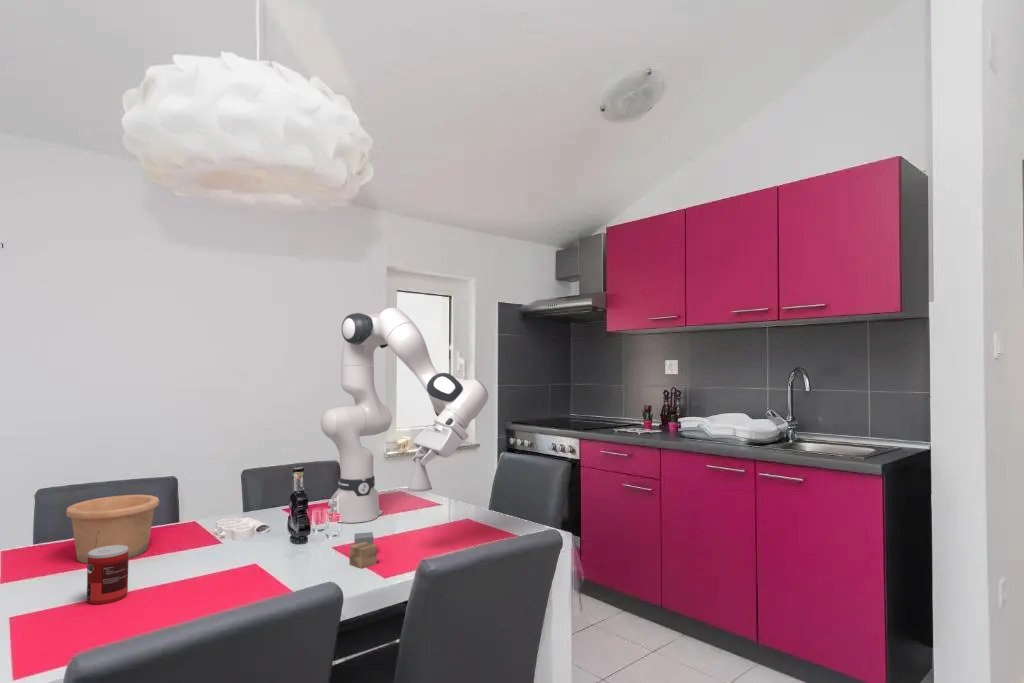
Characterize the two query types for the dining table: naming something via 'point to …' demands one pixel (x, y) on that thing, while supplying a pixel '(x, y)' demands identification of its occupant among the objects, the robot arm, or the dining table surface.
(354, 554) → the walnut block
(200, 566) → the dining table surface
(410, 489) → the flask
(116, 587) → the canned food
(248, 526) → the white holed piece
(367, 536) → the charcoal block
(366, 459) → the robot arm
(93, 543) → the pottery
